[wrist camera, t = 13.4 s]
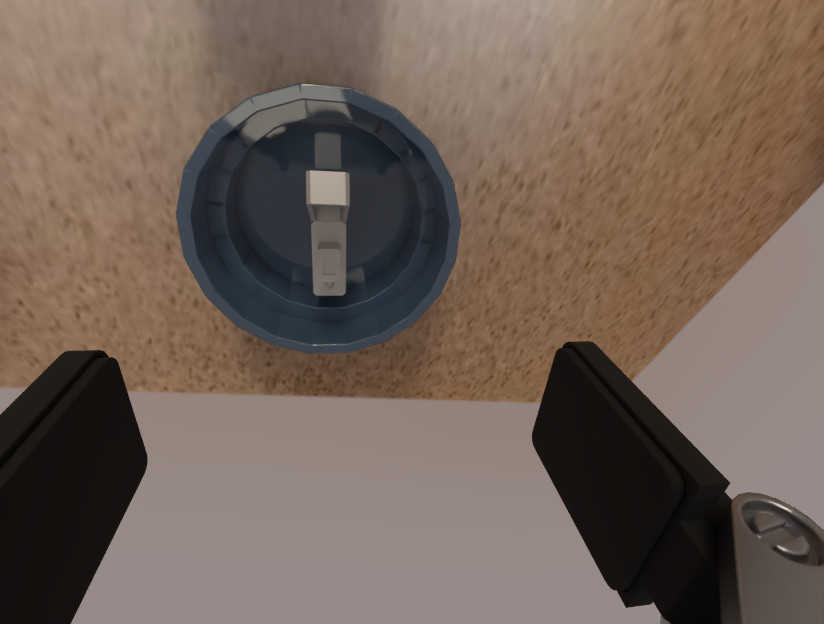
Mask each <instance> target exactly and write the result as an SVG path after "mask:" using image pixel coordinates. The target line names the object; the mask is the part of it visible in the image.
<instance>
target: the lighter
mask: <svg viewBox="0 0 824 624" xmlns="http://www.w3.org/2000/svg"><path fill="white" fill-rule="evenodd" d="M306 205H307V208H308V212H309V216H310V219H311V236H312V265H313V293H314V294H315V295H317V296H343V295H344V294H345V293H346V221H347V217H348V212H349V207H350V180H349V173H346V172H331V171H311V170H310V171H306Z"/></svg>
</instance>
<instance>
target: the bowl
mask: <svg viewBox="0 0 824 624" xmlns="http://www.w3.org/2000/svg"><path fill="white" fill-rule="evenodd" d="M310 170H311V171H331V172H346V173H349V180H350V207H349V212H348V217H347V221H346V293H345V294H344V295H343V296H317V295H315V294H314V293H313V265H312V236H311V219H310V216H309V212H308V208H307V205H306V171H310ZM176 218H177V223H178V229H179V234H180V239H181V245H182V250H183V255H184V258H185V261H186V262H187V264H188V266H189V268H190V269H191V271H192V273H193V275H194V277H195V278H196V280H197V282H198V284H199V286H200V287H201V289H202V291H203V293H204V295H205V296H206V297H207V298H208V299H209V300H210V301H211V302H212V303H213V304H214V305H215V306H216V307H217V308H218V309H219V310H220V311H221V312H222V313H223V314H224V315H225V316H226V317H228V318H229V319H230V320H231V321H232V322H233V323H234V324H235V325H236V326H237V327H239V328H241V329H243V330H245V331H247V332H248V333H250V334H252V335H254V336H256V337H258V338H260V339H262V340H264V341H265V342H267V343H269V344H271V345H272V344H273V345H275V346H279V347H284V348H288V349H292V350H297V351H301V352H305V353H311V354H318V353H347V352H352V351H356V350H359V349H362V348H366V347H369V346H372V345H376V344H379V343H382V342H384V341H386V340H388V339H389V338H391V337H393V336H394V335H396V334H397V333H399V332H401V331H402V330H404V329H405V328H407V327H409V326H410V325H412V324H413V323H414V322H416V321H417V320H418V319H419V318H420V316H421V315H422V314H423V313H424V312H425V311H426V310H427V309H428V308H429V306H430V305H431V304H432V303H433V302H434V301H435V300H436V299H437V298H438V296H439V295H440V294H441V291H442V289H443V287H444V285H445V283H446V281H447V279H448V277H449V275H450V272H451V270H452V268H453V266H454V264H455V261H456V255H457V248H458V240H459V233H460V226H461V223H460V222H461V220H460V214H459V209H458V203H457V197H456V192H455V186H454V182H453V179H452V177H451V176H450V174H449V172H448V170H447V168H446V166H445V164H444V163H443V161H442V159H441V157H440V155H439V153H438V151H437V150H436V148H435V146H434V144H433V143H432V142H431V140H430V139H429V138H428V137H427V136H426V135H424V134H423V133H422V132H421V131H420V130H419V129H418V128H417V127H416V126H415V125H414V124H413V123H412V122H411V121H410V120H409V119H407V118H406V117H405V116H404V115H403V114H402V113H401V112H400V111H399V110H397V109H396V108H394V107H392V106H390V105H388V104H385V103H383V102H381V101H379V100H377V99H375V98H372V97H370V96H368V95H366V94H364V93H361V92H359V91H357V90H355V89H352V88H348V87H340V86H329V85H318V84H306V83H301V84H294V85H291V86H287V87H283V88H280V89H276V90H272V91H269V92H265V93H261V94H257V95H254V96H251V97H249V98H247V99H246V100H244V101H243V102H242V103H240V104H239V105H238V106H236V107H235V108H233V109H232V110H231V111H229V112H228V113H227V114H225V115H224V116H223V117H221V118H220V119H219V120H217V121H216V122H215V123H213V124H212V125H211V126H210V127H209V128H208V129H207V131H206V132H205V134H204V136H203V137H202V139H201V141H200V142H199V144H198V146H197V147H196V149H195V150H194V152H193V154H192V155H191V157H190V159H189V160H188V162H187V164H186V165H185V168H184V169H183V175H182V181H181V187H180V192H179V198H178V204H177V210H176Z"/></svg>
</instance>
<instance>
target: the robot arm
mask: <svg viewBox="0 0 824 624" xmlns="http://www.w3.org/2000/svg"><path fill="white" fill-rule="evenodd" d="M532 441H533V445H534V448H535V450H536V452H537V454H538V456H539V457H540V459H541V461H542V463H543V465H544V467H545V469H546V471H547V472H548V474H549V476H550V478H551V480H552V482H553V484H554V486H555V487H556V489H557V491H558V493H559V495H560V497H561V499H562V501H563V503H564V504H565V506H566V508H567V510H568V512H569V514H570V516H571V518H572V519H573V521H574V523H575V525H576V527H577V529H578V531H579V533H580V534H581V536H582V538H583V540H584V542H585V544H586V546H587V548H588V549H589V551H590V553H591V555H592V557H593V559H594V561H595V563H596V564H597V566H598V568H599V570H600V572H601V574H602V576H603V578H604V580H605V581H606V583H607V584H608V586H609V587H610V588H611V589H613V590H617V591H618V594H619V596H620V597H621V599H622V601H623V603H624V605H625V607H626V608H628V607H635V606H642V605H649V604H652V602H654V603H655V605H656V607H657V609H658V610H659V612H660V613H661V623H660V624H824V530H823V529H822V528H821V527H820V526H818V525H817V524H816V523H815V522H814V521H813V520H811V519H810V518H809V517H808V516H806V515H804V514H803V513H802V512H800V511H799V510H797V509H796V508H794V507H792V506H790V505H788V504H786V503H784V502H782V501H780V500H778V499H776V498H773V497H770V496H767V495H763V494H758V493H749V492H748V493H743V494H739V495H737V496H736V497H735V498H734V499H733V500H732V499H731V498H730V497H729V496H728V495H727V494H726V493H725V490H726V489H727V487H728V486H729V484H730V482H729V481H728V480H727V479H726V478H725V477H724V476H723V475H722V474H721V473H720V472H719V471H718V470H717V469H716V468H715V467H714V466H713V465H712V464H711V463H710V462H709V461H708V460H707V459H706V458H705V456H704V455H703V454H701V452H700V451H699V450H698V449H697V448H696V447H695V446H694V445H693V444H692V443H691V442H690V441H689V440H688V439H687V438H686V437H685V436H684V435H683V434H682V433H681V432H680V431H679V430H678V429H677V428H676V427H675V426H674V425H673V424H672V423H671V422H670V420H669V419H668V418H666V416H665V415H664V414H663V413H662V412H661V411H660V410H659V409H658V408H657V407H656V406H655V405H654V404H653V403H652V402H651V401H650V400H649V399H648V398H647V397H646V396H645V395H644V394H643V393H642V392H641V391H640V390H639V389H638V388H637V387H636V385H635V384H634V383H633V382H632V381H631V380H630V379H629V378H628V377H627V376H626V375H625V374H624V373H623V372H622V371H621V370H620V369H619V368H618V367H617V366H616V365H615V364H614V363H613V362H612V361H611V360H610V359H609V358H608V357H607V356H606V355H605V354H604V353H603V351H602V350H601V349H600V348H599V347H598V346H597V345H596V344H594V343H593V342H589V341H588V342H567V343H565V344H564V345H563V347H562V348H560V349H558V350H557V351H556V354H555V357H554V360H553V364H552V367H551V371H550V374H549V377H548V381H547V384H546V388H545V391H544V394H543V398H542V401H541V405H540V408H539V411H538V415H537V418H536V422H535V425H534V429H533V433H532ZM146 467H147V453H146V450H145V447H144V443H143V440H142V437H141V434H140V431H139V428H138V424H137V421H136V418H135V415H134V412H133V409H132V405H131V402H130V399H129V396H128V393H127V389H126V386H125V383H124V380H123V377H122V374H121V370H120V367H119V364H118V362H117V360H116V359H115V358H112V357H110V358H109V357H108V355H107V354H106V353H105V352H104V351H101V350H89V351H66V352H64V353H63V354H61V355H60V356H59V357H58V358H57V359H56V360H55V361H54V362H53V363H52V364H51V365H50V366H49V367H48V368H47V369H46V370H45V371H44V372H43V373H42V374H41V375H40V376H39V377H38V378H37V379H36V380H35V381H34V382H33V383H32V384H31V385H30V386H29V387H28V388H27V389H26V390H25V391H24V392H23V393H22V394H21V395H20V396H19V397H18V398H17V399H16V400H15V401H14V402H13V403H12V404H11V405H10V406H9V407H8V408H7V409H6V410H5V411H4V412H3V413H2V414H1V415H0V624H71V622H72V620H73V618H74V616H75V614H76V612H77V610H78V608H79V606H80V604H81V602H82V600H83V598H84V595H85V593H86V591H87V589H88V587H89V585H90V583H91V581H92V579H93V577H94V575H95V573H96V571H97V569H98V567H99V565H100V563H101V561H102V559H103V557H104V555H105V553H106V551H107V549H108V547H109V545H110V543H111V541H112V539H113V537H114V534H115V532H116V530H117V528H118V526H119V524H120V522H121V520H122V518H123V516H124V514H125V512H126V510H127V508H128V506H129V504H130V502H131V500H132V498H133V496H134V494H135V492H136V490H137V488H138V486H139V484H140V482H141V480H142V477H143V476H144V473H145V471H146Z"/></svg>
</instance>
